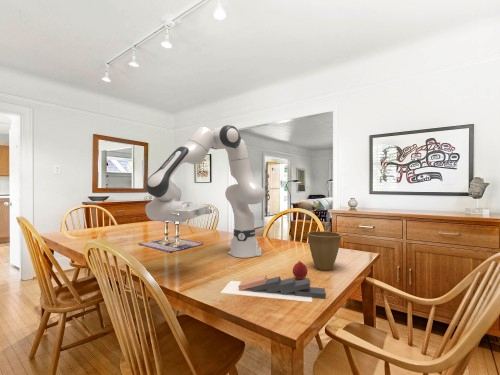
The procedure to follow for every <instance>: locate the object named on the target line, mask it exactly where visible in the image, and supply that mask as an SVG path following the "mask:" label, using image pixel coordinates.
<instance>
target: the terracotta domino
mask: <svg viewBox="0 0 500 375" xmlns="http://www.w3.org/2000/svg"><path fill="white" fill-rule="evenodd" d="M267 279H268V276H267V274H264V275H261V276H256V277H254V278H249V279H246V280H242V281H240V282H241V283H240V284H239V286H238V287H239V290H243V289H247V288H251V287H255V286H259V285H263V284H265V283H266V281H267Z"/></svg>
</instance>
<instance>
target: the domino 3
mask: <svg viewBox="0 0 500 375" xmlns="http://www.w3.org/2000/svg"><path fill="white" fill-rule="evenodd" d="M295 281H296V283H295V287H291V288H287V289H283V290H281V292H282V294H286V293H290V292H294V291H299V290H303V289H307V288H310V287H311V280H310V278H303V279H302V280H295Z"/></svg>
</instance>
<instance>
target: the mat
mask: <svg viewBox="0 0 500 375" xmlns="http://www.w3.org/2000/svg"><path fill="white" fill-rule="evenodd" d="M241 282H242V281H238V280H237V281H236V280H230V281H229V282H228V283H227V284H226V286H225V287H224V288H223V289H222V290H221V291H220V294H228V295H238V296H247V297H259V298H268V299H279V300H288V301H297V302H298V301H299V302H309V303H312V302H313V297H302V296H295V291H294V292H290V293H286V294H282V292H281V290H279V291H275V292H271V293H268V292H267V289H263V290H258V291H254V292H253V290H252V287H251V288H247V289H243V290H239V287H238V286H239V284H240V283H241Z"/></svg>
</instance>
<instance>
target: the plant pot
mask: <svg viewBox="0 0 500 375" xmlns="http://www.w3.org/2000/svg"><path fill="white" fill-rule="evenodd" d="M341 237H342V234H340V233H338V232H333V231H323V230H321V231H320V230H319V231H318V230H317V231H310V232H309V231H308V232H307V239H308V245H309V249H310V254H311V257H312V262H313V264H314V267H315V269H317V270H319V271H331V270H332V269H333V268H334V266H335V263H336V260H337V256H338V253H339V248H340V245H341V244H340V243H341V240H342V238H341Z"/></svg>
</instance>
